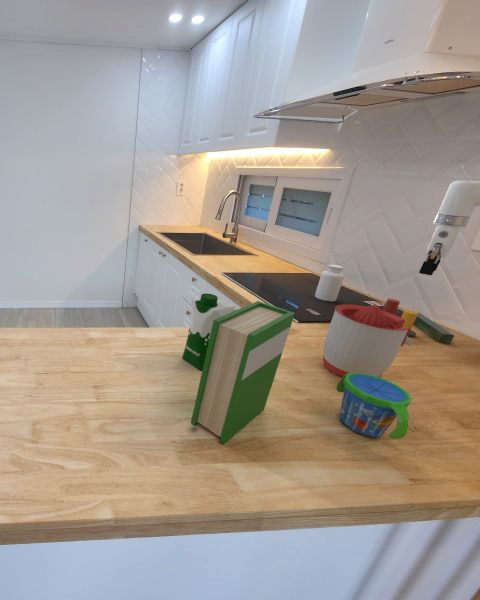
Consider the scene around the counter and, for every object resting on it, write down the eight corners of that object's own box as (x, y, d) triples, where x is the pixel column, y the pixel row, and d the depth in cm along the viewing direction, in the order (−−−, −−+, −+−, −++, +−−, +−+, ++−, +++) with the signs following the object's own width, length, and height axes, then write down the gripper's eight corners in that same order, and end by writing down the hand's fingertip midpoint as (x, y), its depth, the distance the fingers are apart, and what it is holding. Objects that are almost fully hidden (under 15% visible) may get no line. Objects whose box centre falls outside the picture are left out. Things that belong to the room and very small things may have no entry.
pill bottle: (321, 294, 153) (332, 263, 148) (339, 301, 146) (352, 268, 141) (310, 296, 150) (320, 263, 145) (327, 302, 144) (339, 269, 138)
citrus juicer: (399, 399, 82) (436, 326, 75) (315, 374, 91) (341, 306, 83) (387, 370, 95) (417, 305, 87) (314, 350, 103) (336, 289, 96)
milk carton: (177, 357, 95) (189, 291, 87) (200, 351, 99) (214, 287, 92) (201, 374, 88) (216, 303, 80) (224, 366, 92) (241, 298, 84)
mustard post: (408, 330, 121) (417, 310, 118) (419, 338, 115) (429, 317, 112) (385, 326, 123) (393, 306, 120) (394, 334, 117) (404, 313, 114)
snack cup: (315, 399, 80) (329, 363, 77) (362, 405, 79) (378, 368, 75) (355, 450, 66) (375, 408, 62) (414, 457, 65) (438, 416, 61)
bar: (416, 320, 130) (420, 313, 129) (449, 344, 112) (454, 335, 111) (406, 319, 131) (410, 311, 130) (438, 342, 113) (442, 333, 112)
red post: (391, 317, 132) (400, 298, 129) (401, 324, 126) (410, 305, 123) (370, 314, 134) (378, 295, 131) (378, 321, 128) (387, 301, 125)
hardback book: (223, 445, 65) (253, 336, 56) (190, 422, 71) (213, 319, 62) (264, 409, 76) (295, 312, 67) (232, 392, 81) (257, 300, 72)
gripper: (465, 224, 100) (439, 279, 106) (469, 221, 111) (445, 271, 117) (431, 220, 105) (408, 273, 112) (437, 218, 116) (416, 265, 122)
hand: (427, 272), depth 114 cm, fingers open, 9 cm apart
